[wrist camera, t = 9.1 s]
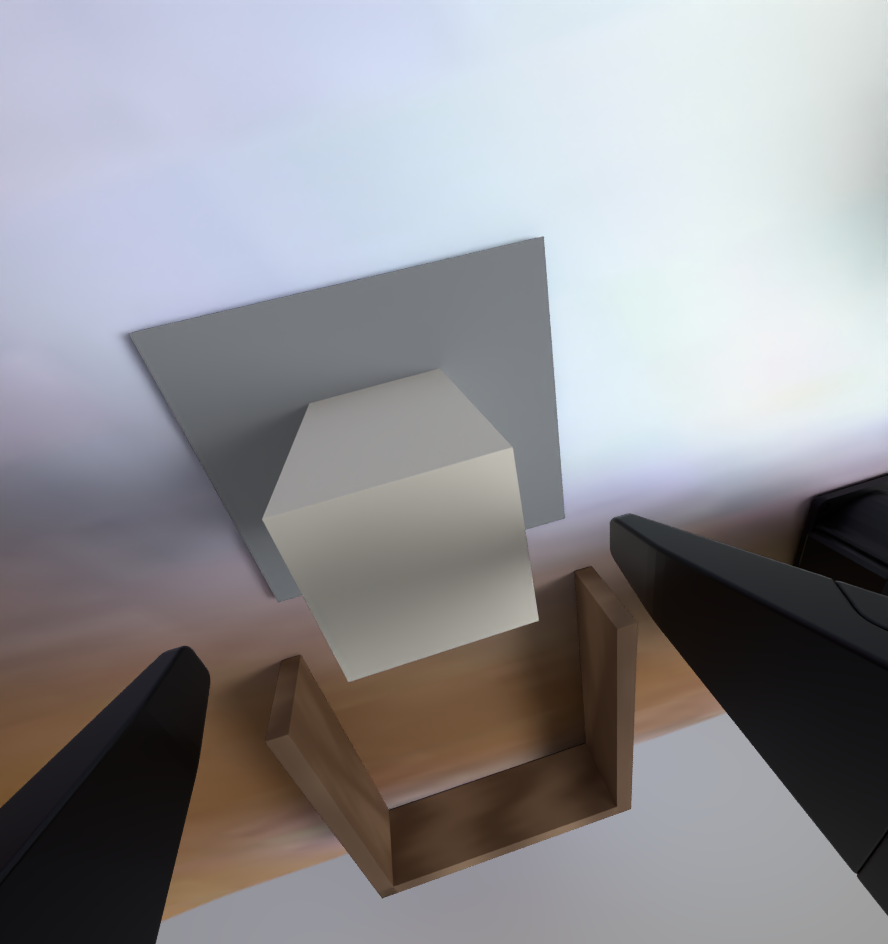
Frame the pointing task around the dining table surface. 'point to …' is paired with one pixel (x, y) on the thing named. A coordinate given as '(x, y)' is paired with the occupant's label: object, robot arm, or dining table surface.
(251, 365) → the mat
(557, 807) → the u-shaped frame
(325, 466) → the block
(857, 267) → the dining table surface
